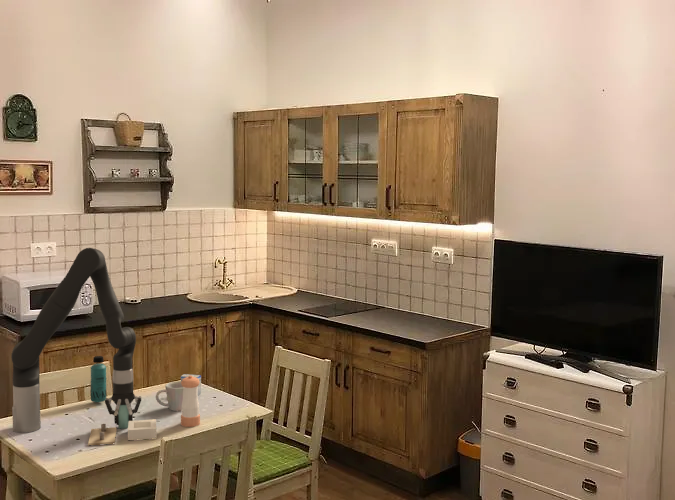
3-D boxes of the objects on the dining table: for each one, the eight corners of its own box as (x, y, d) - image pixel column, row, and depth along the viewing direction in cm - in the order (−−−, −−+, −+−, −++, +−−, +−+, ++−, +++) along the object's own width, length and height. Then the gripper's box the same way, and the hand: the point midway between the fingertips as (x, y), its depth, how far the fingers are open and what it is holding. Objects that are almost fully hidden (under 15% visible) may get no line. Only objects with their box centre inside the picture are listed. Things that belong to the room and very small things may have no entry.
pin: (118, 429, 282) (117, 406, 281) (118, 425, 285) (118, 402, 284) (128, 428, 283) (128, 405, 282) (129, 424, 286) (129, 402, 285)
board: (88, 446, 264) (88, 436, 264) (91, 431, 279) (91, 422, 278) (114, 444, 267) (114, 434, 266) (116, 429, 281) (116, 420, 281)
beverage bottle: (87, 403, 311) (86, 356, 309) (102, 399, 316) (101, 353, 314) (95, 406, 307) (94, 359, 304) (110, 403, 311) (109, 356, 309)
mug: (195, 409, 306) (195, 385, 305) (160, 415, 297) (160, 391, 296) (185, 402, 314) (185, 379, 313) (151, 408, 306) (150, 384, 305)
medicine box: (180, 395, 324) (180, 376, 323) (184, 392, 328) (183, 373, 327) (197, 397, 322) (197, 377, 321) (201, 393, 327) (201, 374, 326)
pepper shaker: (199, 426, 286) (199, 378, 284) (180, 427, 285) (180, 378, 283) (200, 420, 293) (200, 372, 291) (181, 420, 292) (181, 373, 290)
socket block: (127, 440, 270) (127, 430, 270) (128, 431, 280) (128, 420, 279) (156, 438, 272) (156, 428, 272) (156, 429, 282) (156, 419, 282)
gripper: (142, 376, 287) (142, 419, 289) (104, 378, 284) (104, 421, 286) (142, 382, 280) (142, 426, 282) (102, 384, 277) (103, 428, 279)
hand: (123, 423), depth 284 cm, fingers closed on pin, 4 cm apart
